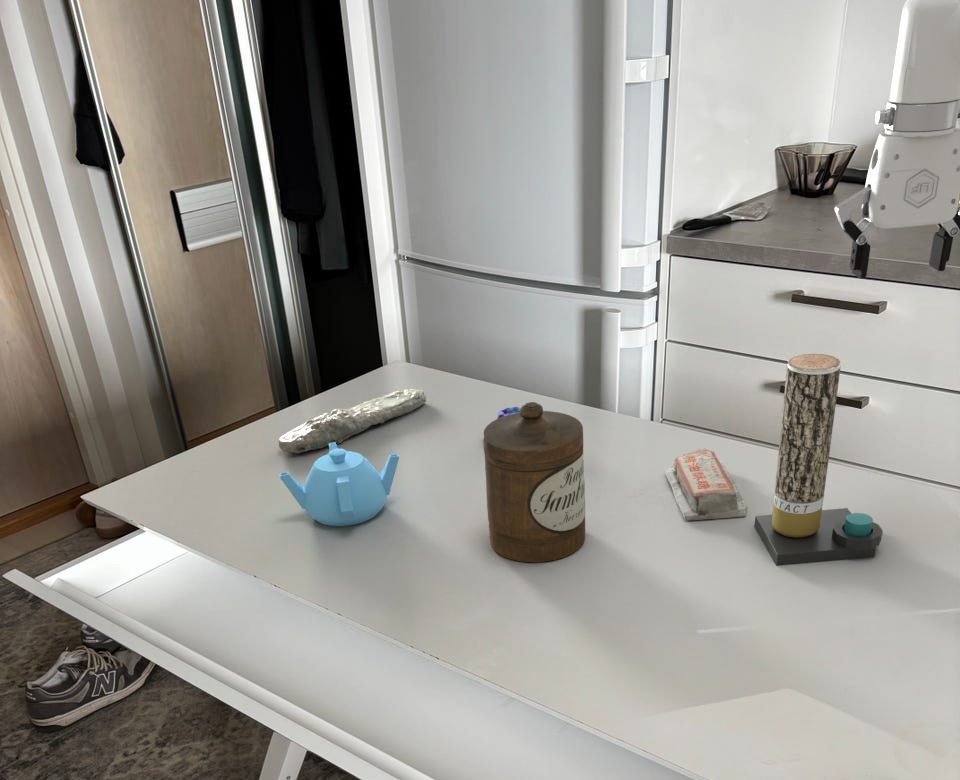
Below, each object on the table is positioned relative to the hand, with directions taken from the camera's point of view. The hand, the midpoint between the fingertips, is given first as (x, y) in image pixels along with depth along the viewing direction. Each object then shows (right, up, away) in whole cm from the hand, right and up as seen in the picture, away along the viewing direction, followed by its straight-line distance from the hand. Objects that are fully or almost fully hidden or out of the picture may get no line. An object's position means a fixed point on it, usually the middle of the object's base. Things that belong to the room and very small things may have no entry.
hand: (897, 272), depth 122 cm
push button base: (-3, -31, +23) cm, 39 cm away
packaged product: (-16, -22, +38) cm, 47 cm away
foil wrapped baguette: (-77, -4, +74) cm, 106 cm away
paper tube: (-6, -30, +22) cm, 38 cm away
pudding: (-46, -8, +63) cm, 78 cm away
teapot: (-75, -24, +44) cm, 90 cm away
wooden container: (-43, -30, +30) cm, 61 cm away
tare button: (+2, -30, +18) cm, 35 cm away
